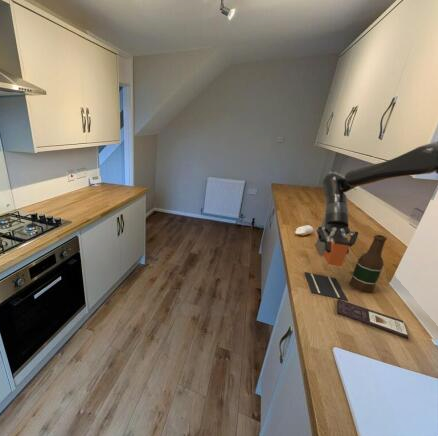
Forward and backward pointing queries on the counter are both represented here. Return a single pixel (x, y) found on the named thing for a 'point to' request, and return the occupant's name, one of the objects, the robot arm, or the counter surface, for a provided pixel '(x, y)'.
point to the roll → (304, 230)
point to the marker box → (337, 250)
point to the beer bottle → (369, 267)
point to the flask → (321, 244)
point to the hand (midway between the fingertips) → (336, 253)
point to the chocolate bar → (372, 318)
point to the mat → (325, 286)
